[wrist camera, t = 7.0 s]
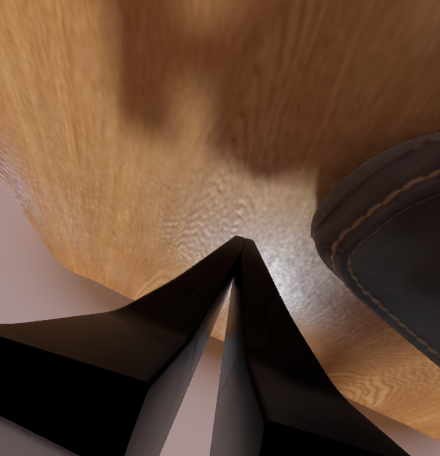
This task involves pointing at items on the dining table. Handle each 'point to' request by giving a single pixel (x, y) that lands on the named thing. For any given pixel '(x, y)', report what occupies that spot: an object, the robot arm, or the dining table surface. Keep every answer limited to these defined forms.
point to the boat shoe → (390, 238)
